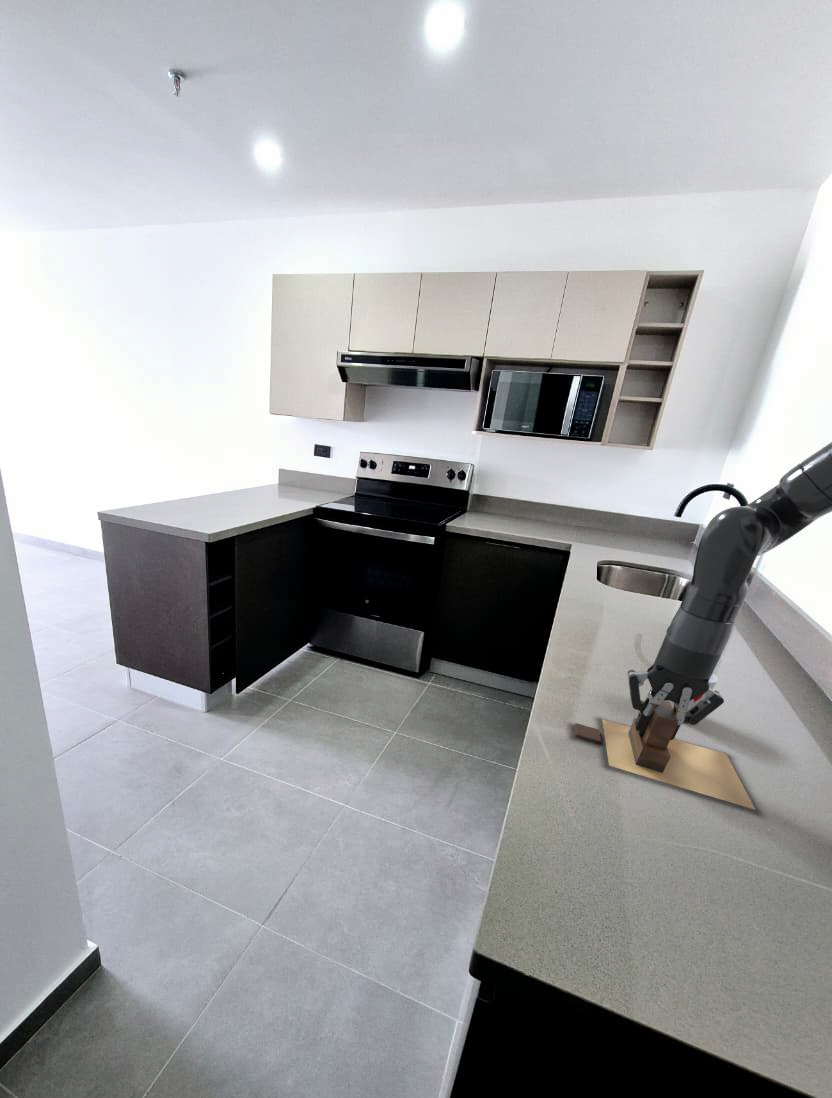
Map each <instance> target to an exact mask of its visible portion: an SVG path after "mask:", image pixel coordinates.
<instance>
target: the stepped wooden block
mask: <svg viewBox="0 0 832 1098" xmlns="http://www.w3.org/2000/svg"><path fill="white" fill-rule="evenodd" d="M636 719H637V717H634V718H633V720H632V723H631V725H630V727H631V728H630V730H629V732H628V734H629V738H630V742H631V746H632V751H633V755H634V759H635V764H636V765H639V766H642V767H646V768H649V769H653V770H656V771H659V772H663V771H664V769H665V767H666V765H667V763H668V761H669V759H670V757H671V756H670V753H669V750H668V747H667V746H668V744H669V742H670V739H671V737H672V735H673V733H674V731H675V729H676V727H677V724H678V720H677V717H676V715H675V713H674V710H673V708H672V705H671V703H670V701H666V700H663V701H662V703H661V704H660V706H658V707H657V708H656V709H655V710H654V712H653V713H652V715H651V719H650V721H649V724H648V726H647V728H646V730H645V733H644V735H643V736H642V735H639V734H638V732H637V730H636V728H635V721H636Z"/></svg>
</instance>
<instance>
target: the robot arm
mask: <svg viewBox="0 0 832 1098" xmlns="http://www.w3.org/2000/svg"><path fill="white" fill-rule="evenodd" d="M831 512H832V441H831V442H829V443H828V444H826V445H825V446H823V447H821V448H820V449H819V450H818V451H816V452H814V453H813V454H811V455H810V456H808V457H807V458H806V459H804V460H802V461H801V463H798V464H797V465H795V466H794V467H792V468H791V469H790V470H788V471H787V472H786V473H784V475H782V477H781V478H780V479H779V481H778V484H777V485H775V486H774V487H772V488H771V489H769V490H768V491H766V492H765V493H763V494H762V495H761V496H759V497H757V498H756V499H754V500H753V501H751V502H749V503H748V504H746V505H744V506H742V505H741V506H733V507H729V508H726V509H724V510H722V511H720V512H719V513H717V514H716V515H715V516H713V518H712V519H711V520H710V521H709V522H708V523H707V526H706V527H705V528H704V531H703V532H702V534H701V538H700V540H699V543H698V548H697V551H696V556H695V561H694V565H693V571H692V572H693V573H692V577H691V580H690V582H689V584H688V586H687V588H686V590H685V593H684V595H683V598H682V600H681V603H680V605H679V607H678V609H677V611H676V613H675V615H674V616H673V617H672V619H671V621H670V624H669V625H668V627H667V629H666V631H665V635H664V638H663V640H662V642H661V645H660V648H659V650H658V652H657V654H656V657H655V659H654V662H653V664H652V665H651V666H650V667H648V668H647V670H645V671H635V669H629V670H628V671H627V681H628V687H629V697H630V702H631V706H632V708H633V710H636V711H638V715H637V716H636V718H637V719H636V721H635V728H636V730H637V732H638V734H639V735H642V736H643V735H644V733H645V730H646V728H647V726H648V724H649V721H650V719H651V715H652V713H653V712H654V710H655V709H656V708H657V707H658V706H660V704H661V703H662V701H663V700H667V701H672V702H674V706H673V710H674V713H675V715H676V717H677V720H678V724H677V727H676V729H675V731H674V733H673V735H672V737H671V739H670V740H673V739H675V738H676V736H677V734H678V731H679V729H680V727H681V726H682V725H684V724H690V725H692V726H696V725H697V724H699V723H700V722H702V720H705V718H707V717H708V716H709V715H710V714H711V713H713V712H714V711H715V710H717V709H718V708H719V707H720V706H721V705H723V704H724V702H725V699H724V698H723V696H722V694H721V693H720V692H719V691H718V690H714V689H713V690H712V689H710V688H709V679H710V677H711V675H712V673H713V674H714V671H715V669H716V667H717V666H718V663H719V661H720V659H721V656H722V654H723V653H724V650H725V649H726V646H727V644H728V642H729V641H730V640H729V639H730V637H731V634H732V631H733V628H734V625H735V622H736V621H737V618H738V616H739V614H740V612H741V610H742V608H743V605H744V603H745V601H746V599H747V596H748V592H749V585H748V583H747V580H748V578H749V576H750V573H751V571H752V568H753V566H754V563H755V561H756V560H757V557H758V556H762V555H763V554H766V553H768V552H770V551H771V550H773V549H775V548H776V547H778V546H780V545H781V544H783V543H785V542H786V541H789V540H790V539H791V538H792V537H794V536H795V535H797V534H798V533H800V532H801V531H802V530H804V529H806V528H807V527H808V526H810V525H811V524H812V523H814V522H815V521H816V520H818V519H819V518H821V517H824V516H826V515H828V514H831ZM646 680H648V682H649V684H650V687H651V688H650V689H649V692H648V693H647V696H646V697H645V699H644V700H642V699H641V692H640V687H642V686H644V683H645V681H646ZM702 694H704V695H703V696H702V700H701V701H700V702H699V703H697V704H696V705H695V706H694V707H692V708H691V709H690V710H689V711H687V710H688V705H689V701H691V700H693V699H694V698H696V697H698V696H700V695H702Z"/></svg>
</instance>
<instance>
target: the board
mask: <svg viewBox="0 0 832 1098" xmlns="http://www.w3.org/2000/svg"><path fill="white" fill-rule="evenodd" d="M602 727H603V733H604V740H605V748H606V754H607V761H608V766H609V767H612V768H615V769H617V770H623V771H626V772H628V773H631V774H632V773H633V774H635V775H639V776H642V777H646V778H649V779H652V780H655V781H659V782H661V783H664V784H669V785H671V786H675V787H678V788H681V789H685V790H689V791H692V792H695V793H698V794H701V795H704V796H708V797H711V798H714V799H718V800H722V801H723V802H727V803H731V804H734V805H736V806H742V807H744V808H748V809H751V810H755V811H756V808H755V806H754V804H753V802H752V800H751V798H750V797H749V794H748V792H747V791H746V789H745V787H744V784H743V783H742V781H741V779H740V777H739V775H738V773H737V771H736V770H735V768H734V766H733V763H732V762H731V760H730V759H729V756H728V755H727V753H725V752H721V751H717V750H713V749H710V748H707V747H703V746H699V745H696V744H692V743H689V742H685V741H681V740H678V739H675V738H674V739H673V740H670V742H669V744H668V746H667V747H668V750H669V753H670V756H671V757H670V759H669V761H668V763H667V765H666V767H665V769H664V771H663V772H659V771H656V770H653V769H649V768H646V767H642V766H639V765H636V764H635V759H634V755H633V751H632V746H631V742H630V738H629V734H628V732H629V730H630V728H631V726H627V725H624V724H621V723H618V722H613V721H610V720H606V719H602Z"/></svg>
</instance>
